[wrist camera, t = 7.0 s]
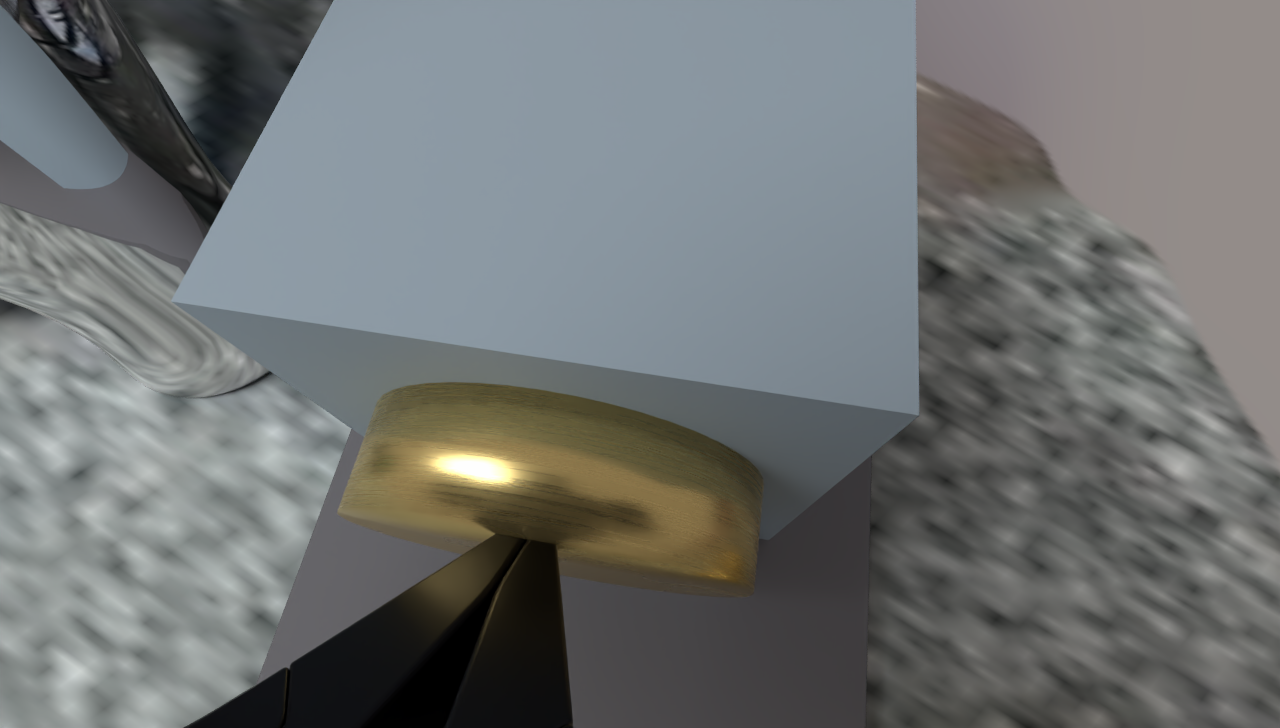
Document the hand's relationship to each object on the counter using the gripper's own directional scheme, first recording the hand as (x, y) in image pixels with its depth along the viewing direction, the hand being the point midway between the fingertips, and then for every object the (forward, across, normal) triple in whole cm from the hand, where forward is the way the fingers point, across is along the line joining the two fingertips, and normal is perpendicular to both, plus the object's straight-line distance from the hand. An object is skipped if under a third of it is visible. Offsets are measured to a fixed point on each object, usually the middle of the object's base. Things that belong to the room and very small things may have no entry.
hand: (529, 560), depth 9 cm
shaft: (+9, 0, -2) cm, 9 cm away
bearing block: (+9, 0, +1) cm, 9 cm away
